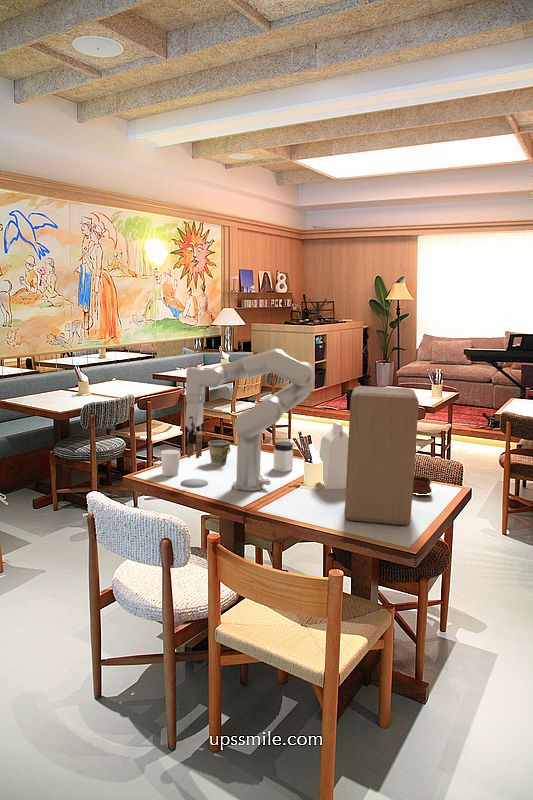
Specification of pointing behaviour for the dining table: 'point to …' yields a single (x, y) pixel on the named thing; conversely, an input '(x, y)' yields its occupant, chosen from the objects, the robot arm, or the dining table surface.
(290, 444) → the jar
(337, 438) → the milk
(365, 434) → the block
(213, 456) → the ceramic cup
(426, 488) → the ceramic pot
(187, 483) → the felt mat
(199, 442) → the stool mini
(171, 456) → the white cup
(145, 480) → the dining table surface
